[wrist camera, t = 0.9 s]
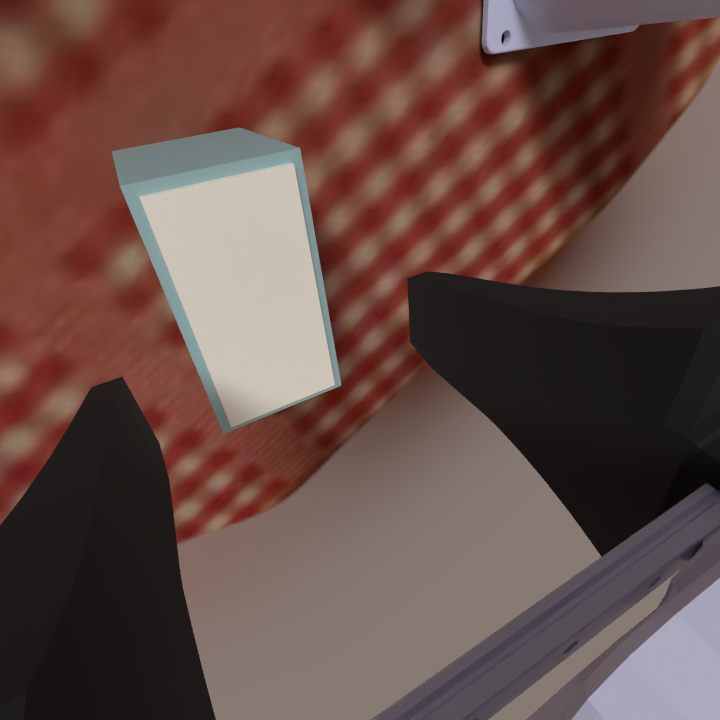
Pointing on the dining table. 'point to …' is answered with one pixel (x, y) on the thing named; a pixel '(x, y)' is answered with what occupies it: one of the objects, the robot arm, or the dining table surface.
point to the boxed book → (236, 266)
